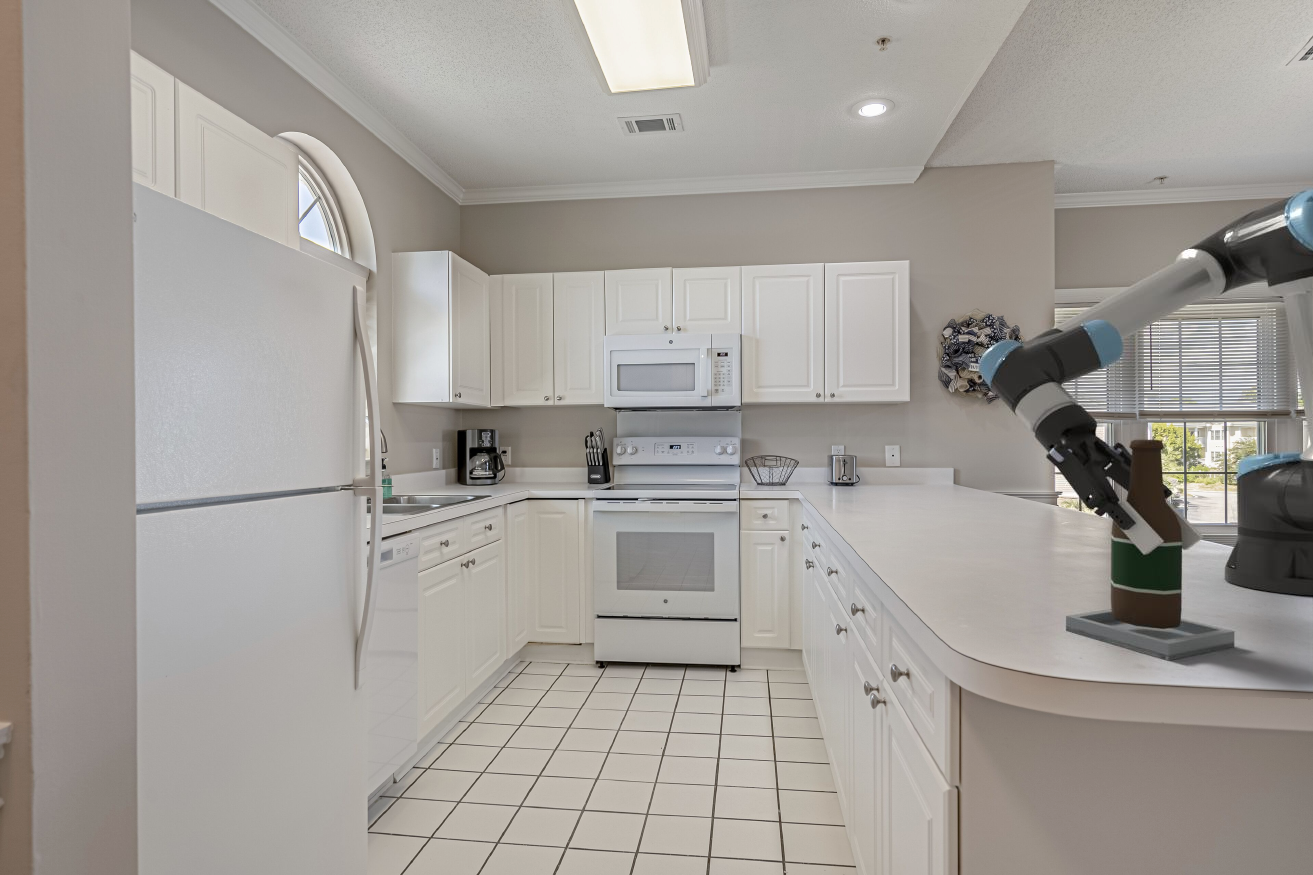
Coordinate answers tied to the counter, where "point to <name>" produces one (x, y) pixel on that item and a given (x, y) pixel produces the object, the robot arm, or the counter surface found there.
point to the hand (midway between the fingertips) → (1174, 545)
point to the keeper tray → (1152, 635)
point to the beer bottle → (1155, 579)
